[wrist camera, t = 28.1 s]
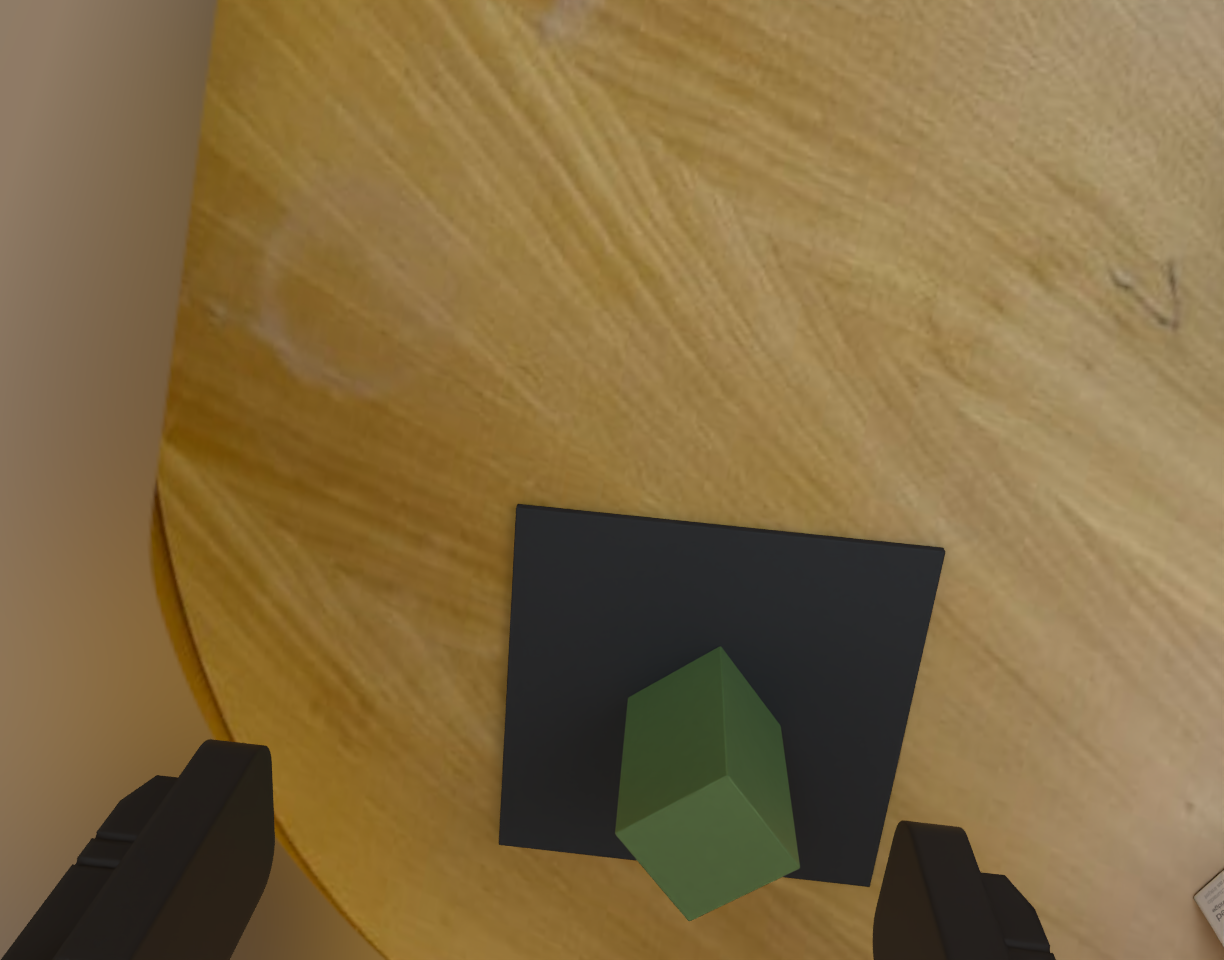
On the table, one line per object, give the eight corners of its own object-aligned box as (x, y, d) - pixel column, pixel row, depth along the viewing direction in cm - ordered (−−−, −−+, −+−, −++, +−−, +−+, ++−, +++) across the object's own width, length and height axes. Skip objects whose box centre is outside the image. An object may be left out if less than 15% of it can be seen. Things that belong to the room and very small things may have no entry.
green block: (627, 697, 47) (614, 834, 39) (720, 645, 46) (727, 775, 38) (688, 774, 49) (688, 922, 40) (781, 725, 47) (801, 869, 39)
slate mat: (500, 839, 51) (498, 845, 51) (517, 503, 44) (516, 507, 44) (868, 881, 51) (869, 887, 50) (943, 547, 44) (945, 551, 44)
